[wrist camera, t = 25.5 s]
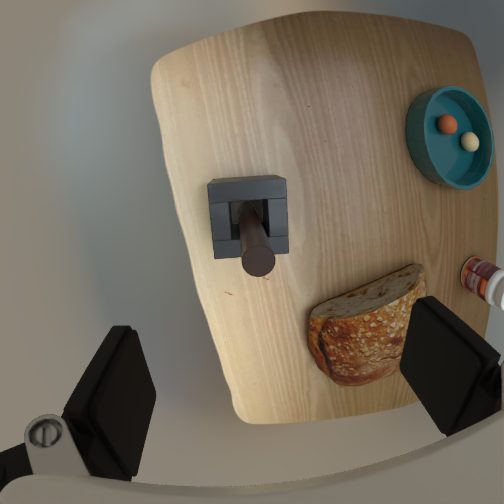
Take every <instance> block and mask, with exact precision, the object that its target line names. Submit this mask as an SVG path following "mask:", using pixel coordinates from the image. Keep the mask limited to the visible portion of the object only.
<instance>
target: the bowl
mask: <svg viewBox="0 0 504 504" xmlns="http://www.w3.org/2000/svg"><path fill="white" fill-rule="evenodd" d="M444 114H449V115H451V116H453V117H454V118H455V120H456V121H457V130H456V132H455V133H454V134H452V135H446V134H444V133H443V132H441V130H440V129H439V127H438V119H439V118H440V116H442V115H444ZM466 132H472V133H474V134H475V135H476V136H477V138H478V140H479V146H478V148H477V150H476V151H473V152H469V151H467V150H465V149H464V148H463V146H462V144H461V137H462V135H463V134H464V133H466ZM406 140H407V145H408V149H409V152H410V155H411V157H412V159H413V161H414V163H415V165H416V166H417V168H418V169H419V171H420V172H421V173H422V174H423V175H424V176H425V177H426V178H427V179H429V180H430V181H432V182H434V183H436V184H439V185H441V186H445V187H450V188H455V189H462V190H470V189H472V188H474V187H476V186H478V185H480V183H481V182H482V181H483V180H484V179H485V178H486V177H487V175H488V172H489V170H490V168H491V166H492V161H493V156H494V136H493V132H492V127H491V124H490V120H489V118H488V116H487V114H486V112H485V110H484V108H483V107H482V105H481V104H480V103H479V101H478V100H477V99H476V98H475V97H474V96H473V95H472V94H470V93H469V92H468V91H466V90H465V89H463V88H459V87H456V86H447V87H442V88H438V89H434V90H430V91H426V92H425V93H422V94H421V95H419V96H418V97H417V98H416V99H415V100H414V102H413V103H412V105H411V107H410V109H409V111H408V114H407V119H406Z"/></svg>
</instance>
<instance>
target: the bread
mask: <svg viewBox="0 0 504 504" xmlns="http://www.w3.org/2000/svg"><path fill="white" fill-rule="evenodd" d="M421 297H427V293H426V279H425V271H424V267H423V265H422V264H413V265H409V266H407V267H406V268H404V269H402V270H399V271H397V272H395V273H392V274H390V275H387V276H385V277H383V278H381V279H379V280H376V281H374V282H372V283H369V284H367V285H365V286H362V287H360V288H358V289H356V290H353V291H351V292H349V293H347V294H344V295H342V296H340V297H337V298H334V299H331V300H329V301H326V302H323V303H322V304H320V305H318V306H317V307H315V308H314V309H313V311H312V313H311V316H310V318H309V325H308V347H309V350H310V352H311V355H312V357H313V358H314V360H315V362H316V364H317V366H318V368H319V369H320V370H321V371H323V372H324V373H325V374H326V375H328V376H329V377H330V378H331V379H332V380H333V381H334V382H335V383H336V384H338V385H339V386H340V387H357V386H362V385H366V384H369V383H372V382H375V381H377V380H380V379H383V378H385V377H388V376H390V375H393V374H396V373H398V372H399V371H400V367H399V363H400V359H401V355H402V351H403V347H404V342H405V338H406V333H407V329H408V324H409V319H410V314H411V308H412V305H413V304H414V303H415V301H416V300H417V299H418V298H421Z"/></svg>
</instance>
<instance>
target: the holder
mask: <svg viewBox="0 0 504 504" xmlns="http://www.w3.org/2000/svg"><path fill="white" fill-rule="evenodd" d="M207 187H208V199H209V210H210V220H211V231H212V240H213V250H214V259H223V258H236V257H241V244H240V229H239V223H238V224H232V216H231V203H230V202H232V201H245V200H259V199H262V215H263V222H261V224H262V226H263V229H264V231H265V233H266V236H267V238H268V241H269V243H270V246H271V248H272V251H273V253H274V254H287V253H289V240H288V212H287V189H286V179H285V178H282V177H280V176H277V175H264V176H248V177H234V178H222V179H213V180H212V181H211V182H210V183H208V184H207Z"/></svg>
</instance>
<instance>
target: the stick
mask: <svg viewBox="0 0 504 504" xmlns="http://www.w3.org/2000/svg"><path fill="white" fill-rule="evenodd" d="M238 214H239V229H240V244H241V258H242V266H243V268H244V270H245V271H246V272H247V273H248V274H250V275H252V276H255V277H261V276H265V275H267V274H268V273H270V272H271V271H272V269H273V268H274V265H275V256H274V253H273V251H272V248H271V246H270V243H269V241H268V238H267V236H266V233H265V231H264V229H263V226H262V224H261V221H260V219H259V216H258V214H257V212H256V209H255V207H254V205H253V204H251V203H249V202H245V203H242V204H241V205H240V206H239V209H238Z"/></svg>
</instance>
